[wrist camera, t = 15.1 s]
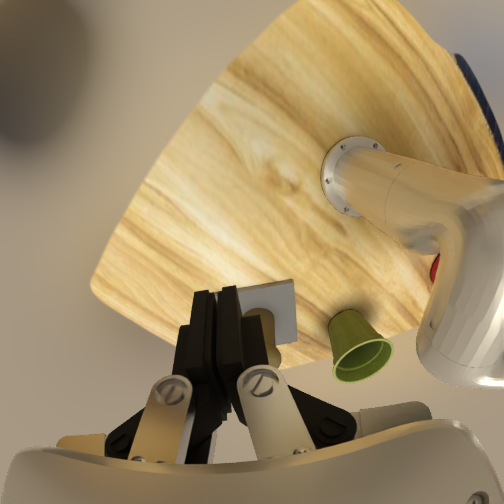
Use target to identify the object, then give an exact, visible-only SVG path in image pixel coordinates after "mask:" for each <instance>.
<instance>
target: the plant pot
mask: <svg viewBox="0 0 504 504" xmlns="http://www.w3.org/2000/svg"><path fill="white" fill-rule="evenodd" d="M328 331H329V336H330V341H331V346H332V352H333V357H334V359H333V364H334V367H333V377H334V379H336V381H338V382H340V383H346V384H348V383H349V384H350V383H357V382H360V381H363V380H366V379H368V378H370V377H372V376H374V375H375V374H377V373H378V372H379V371H380V370H382V369H383V368H384V367H385V366H386V365H387V364H388V362H389V361H390V360H391V358H392V356H393V353H394V346H393V344H392V343H391V341H389V340H387V339H384V338H383V337H382V336H381V335H380V334H378V333H377V332H376V331H375V329H374V328H373V327H372V326H371V325H370V324H369V323H368V322H367V321H366V320H365V319H364V318H363V316H362V315H361V314H360V313H359V312H357V311H355V310H346V311H343V312H342V313H340V314H338V315H336V316H335V317H333V319H332V320H331V321H330V323H329V326H328Z"/></svg>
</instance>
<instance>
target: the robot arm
mask: <svg viewBox="0 0 504 504" xmlns="http://www.w3.org/2000/svg"><path fill="white" fill-rule="evenodd" d="M373 144H374V146H373ZM341 145H342V148H340V147H341ZM326 179H328V180H327V181H325V180H326ZM321 184H322V188H323V191H324V194H325V196H326V198H327V200H328V201H329V203H330V204H331V205H332V206H333V207H334V208H335V209H337V210H338V211H339V212H341V213H343V214H345V215H348V216H353V217H361V216H363V217H364V218H366V219H367V220H368V221H370V222H371V223H372V224H374V225H375V226H376V227H378V228H379V229H380V230H381V231H383V232H384V233H385V234H387V235H388V236H389V237H390V238H392V239H393V240H394V241H395V242H396V243H398V244H399V245H400V246H402V247H403V248H404V249H406V250H408V251H409V252H412V253H414V254H418V255H432V254H437V253H440V260H439V265H438V269H437V272H436V278H435V281H434V284H433V288H432V291H431V294H430V297H429V300H428V303H427V306H426V308H425V311H424V314H423V317H422V320H421V323H420V326H419V329H418V333H417V338H416V350H417V355H418V357H419V360H420V362H421V363H422V365H423V366H424V368H425V369H426V370H427V371H428V372H429V373H430V374H432V375H433V376H434V377H436V378H437V379H439V380H441V381H443V382H445V383H448V384H451V385H455V386H459V387H465V388H474V389H488V390H504V181H503V180H497V179H492V178H486V177H480V176H475V175H470V174H465V173H461V172H457V171H453V170H450V169H446V168H443V167H439V166H436V165H433V164H430V163H426V162H423V161H420V160H416V159H412V158H409V157H405V156H401V155H398V154H394V153H390V152H387V150H386V149H385V148H384V147H383V146H382V145H381V144H380V143H379V142H377V141H375V140H373V139H371V138H368V137H363V136H352V137H348V138H345V139H343V140H341V141H339V142H338V143H337V144H336V145H334V146H333V147H332V149H331V150H330V151H329V152H328V154H327V156H326V158H325V160H324V163H323V166H322V171H321ZM345 207H346V208H345ZM344 208H345V209H344ZM231 403H232V406H233V408H234V410H235V412H236V414H237V416H238V419H239V421H240V422H241V423H242V424H244V425H245V426H247V427H248V429H249V433H250V436H251V439H252V442H253V446H254V449H255V452H256V455H257V459H258V460H257V461H248V462H237V463H223V464H213V458H214V452H215V445H216V438H217V428H218V427H219V426H220V425H221V424H222V421H226V420H227V413H231V411H232V410H231ZM1 504H504V493H503V490H502V487H501V484H500V482H499V479H498V477H497V474H496V472H495V470H494V468H493V466H492V464H491V462H490V460H489V458H488V456H487V454H486V452H485V450H484V449H483V447H482V445H481V444H480V442H479V441H478V439H477V438H476V436H475V435H474V434H473V433H472V431H471V430H469V428H468V427H467V426H466V425H464V424H463V423H461V422H459V421H456V420H450V419H432V416H431V412H430V410H429V408H428V407H427V406H426V405H425V404H424V403H421V402H418V401H413V402H406V403H401V404H395V405H389V406H383V407H375V408H368V409H360V411H359V412H353V413H349V412H347V411H345V410H343V409H341V408H338V407H336V406H333V405H331V404H329V403H327V402H324V401H322V400H320V399H317V398H315V397H313V396H311V395H309V394H306V393H304V392H302V391H300V390H298V389H295V388H293V387H291V386H289V385H287V383H286V381H285V379H284V377H283V375H282V374H281V372H280V371H279V370H278V369H276V368H275V367H272V366H269V362H268V356H267V351H266V345H265V340H264V334H263V329H262V323H261V318H260V314H257V315H251V316H245V317H243V315H242V311H241V306H240V301H239V297H238V292H237V288H236V285H234V286H228V287H222V291H220V292H218V293H217V301H216V297H215V294H214V292H213V293H209V290H203V291H197V292H194V298H193V304H192V311H191V318H190V325H182V326H180V329H179V334H178V340H177V345H176V352H175V358H174V364H173V371H172V375H169V376H166V377H163V378H162V379H160V380H158V381H157V382H156V383H155V385H154V386H153V388H152V390H151V392H150V395H149V398H148V400H147V403H146V406H145V407H144V408H143V409H142V410H140V411H139V412H138V413H136V414H135V415H134V416H132V417H131V418H130V419H128V420H127V421H126V422H124V423H123V424H121V425H120V426H119V427H117V428H116V429H115V430H113V431H112V432H111V433H110V434H109V435H105V434H104V433H102V434H90V435H76V436H65V437H63V438H61V439H60V440H59V441H58V443H57V445H56V447H52V446H35V447H29V448H26V449H23V450H21V451H19V452H18V453H17V454H16V455H15V456H14V458H13V460H12V462H11V464H10V467H9V470H8V472H7V476H6V479H5V483H4V488H3V492H2V497H1Z"/></svg>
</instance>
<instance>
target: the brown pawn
mask: <svg viewBox="0 0 504 504" xmlns="http://www.w3.org/2000/svg"><path fill="white" fill-rule="evenodd" d="M257 314H260V318H261V323H262V329H263V334H264V340H265V345H266V351H267V356H268V362H269V366H272V367H275V368H276V369H278V368H279V366H280V364H281V354H280V352H279V350H278V349H277V348H276V340H275V319H274V315H273V313H272V312H271V311H269V310H268V309H265V308H254V309H251V310H249V311H247V312H246V313H245V314H244V315H243V317H245V316H251V315H257Z"/></svg>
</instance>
